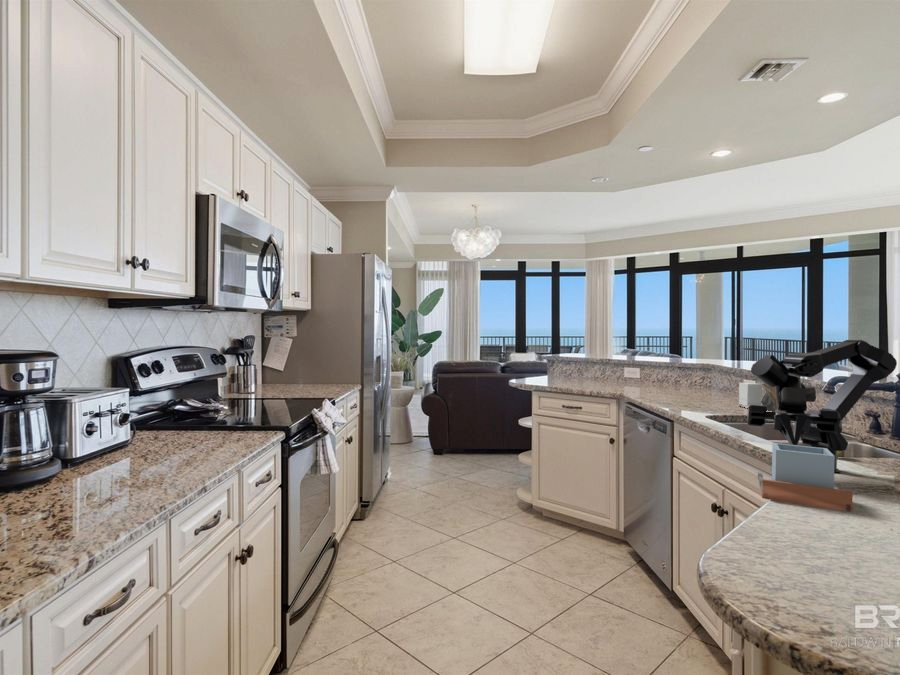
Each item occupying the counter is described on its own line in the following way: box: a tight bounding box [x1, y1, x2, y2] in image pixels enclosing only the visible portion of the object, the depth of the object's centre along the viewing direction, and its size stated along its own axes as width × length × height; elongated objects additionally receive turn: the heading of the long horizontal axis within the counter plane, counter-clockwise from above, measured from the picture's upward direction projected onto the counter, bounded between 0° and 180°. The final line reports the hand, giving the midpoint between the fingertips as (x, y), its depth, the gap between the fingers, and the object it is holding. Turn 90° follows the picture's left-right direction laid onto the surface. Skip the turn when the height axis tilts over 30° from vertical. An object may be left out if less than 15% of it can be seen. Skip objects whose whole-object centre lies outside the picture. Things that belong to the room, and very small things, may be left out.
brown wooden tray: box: [757, 471, 854, 512], centre depth 108 cm, size 18×15×5 cm
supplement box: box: [738, 382, 763, 406], centre depth 248 cm, size 7×7×13 cm
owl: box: [761, 376, 801, 412], centre depth 227 cm, size 13×13×20 cm
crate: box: [771, 442, 835, 489], centre depth 106 cm, size 8×10×10 cm
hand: (794, 446), depth 118 cm, fingers closed
